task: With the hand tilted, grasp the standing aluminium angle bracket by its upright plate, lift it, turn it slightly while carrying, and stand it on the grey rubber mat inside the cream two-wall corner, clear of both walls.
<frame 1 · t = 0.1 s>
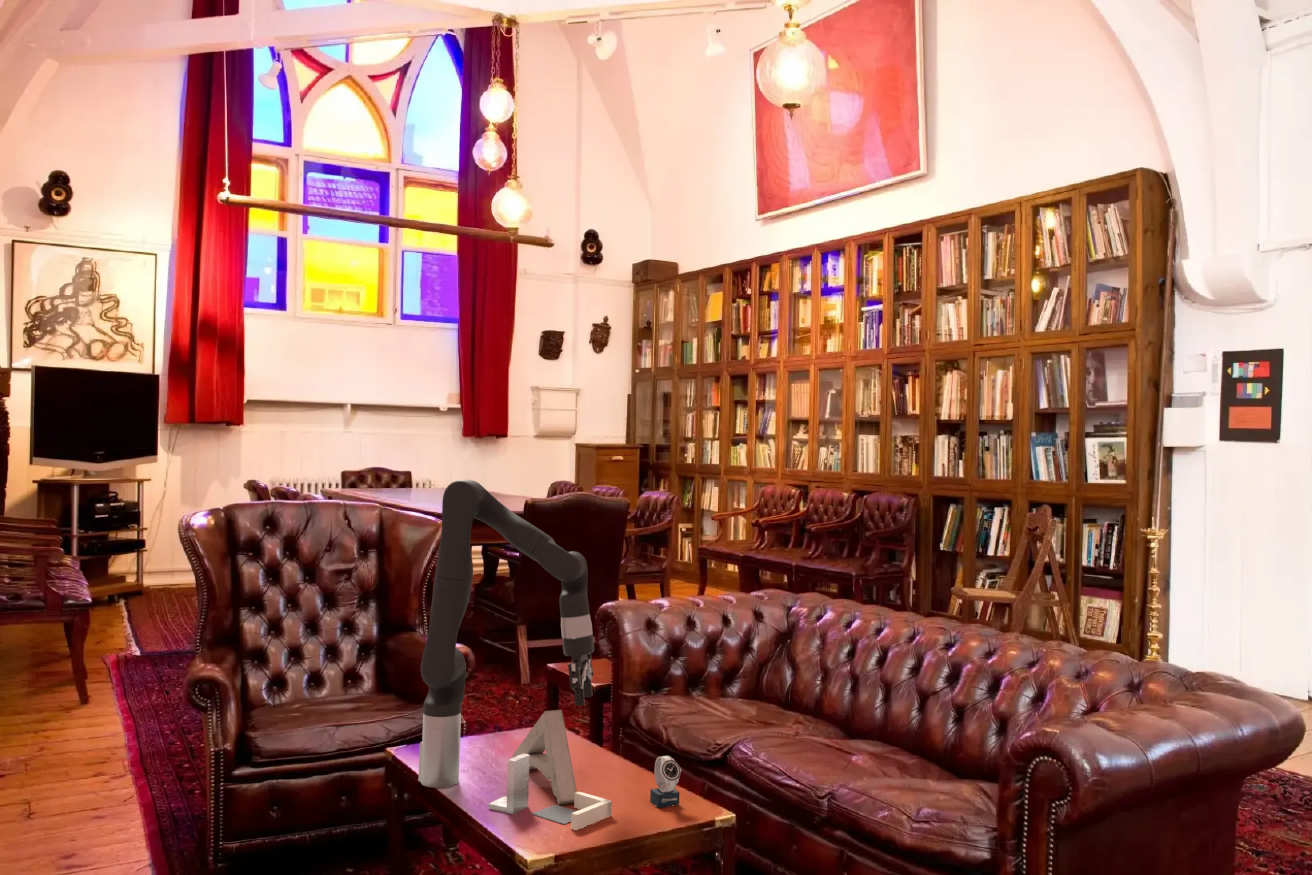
hand: (584, 700, 244), 22 cm above the table, tool pointing down, fingers open, 8 cm apart
wall bracket: (543, 783, 252), on the table
angle bracket: (517, 809, 231), on the table
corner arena: (577, 818, 227), on the table
watch: (664, 804, 238), on the table
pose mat: (559, 814, 228), on the table
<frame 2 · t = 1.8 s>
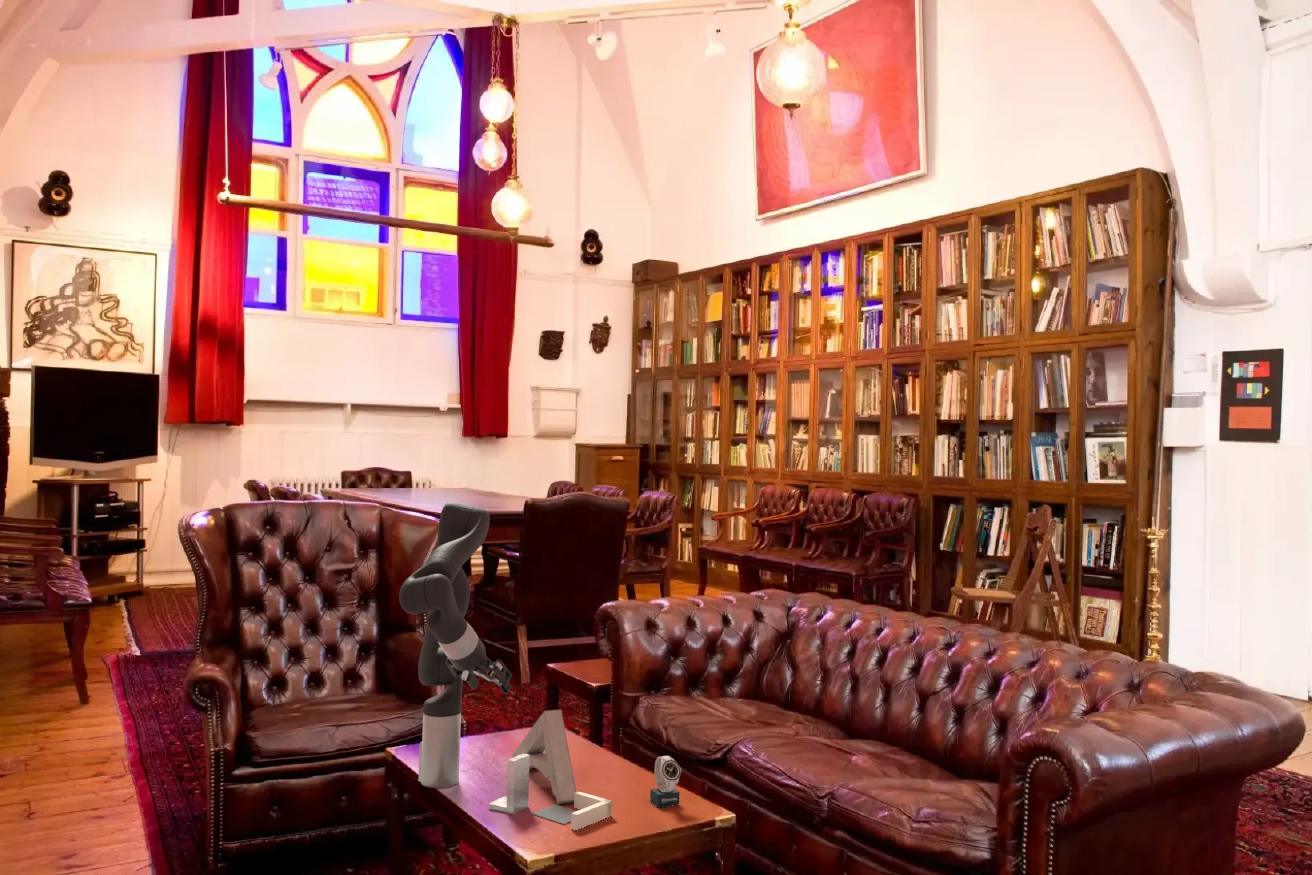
hand: (491, 688, 222), 30 cm above the table, tool tilted 45°, fingers open, 8 cm apart
nothing on the table moved.
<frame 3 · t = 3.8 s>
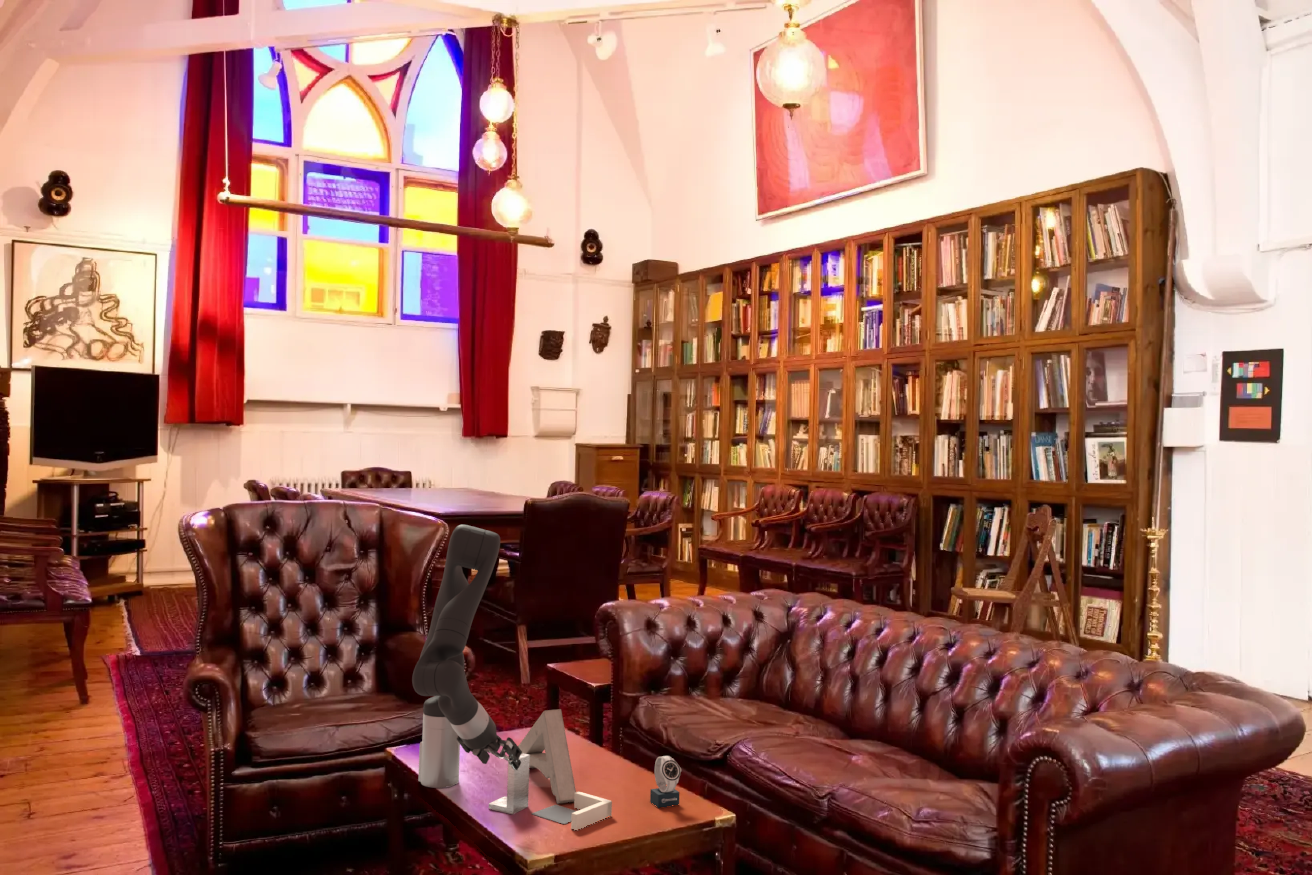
hand: (502, 763, 226), 12 cm above the table, tool tilted 45°, fingers open, 8 cm apart
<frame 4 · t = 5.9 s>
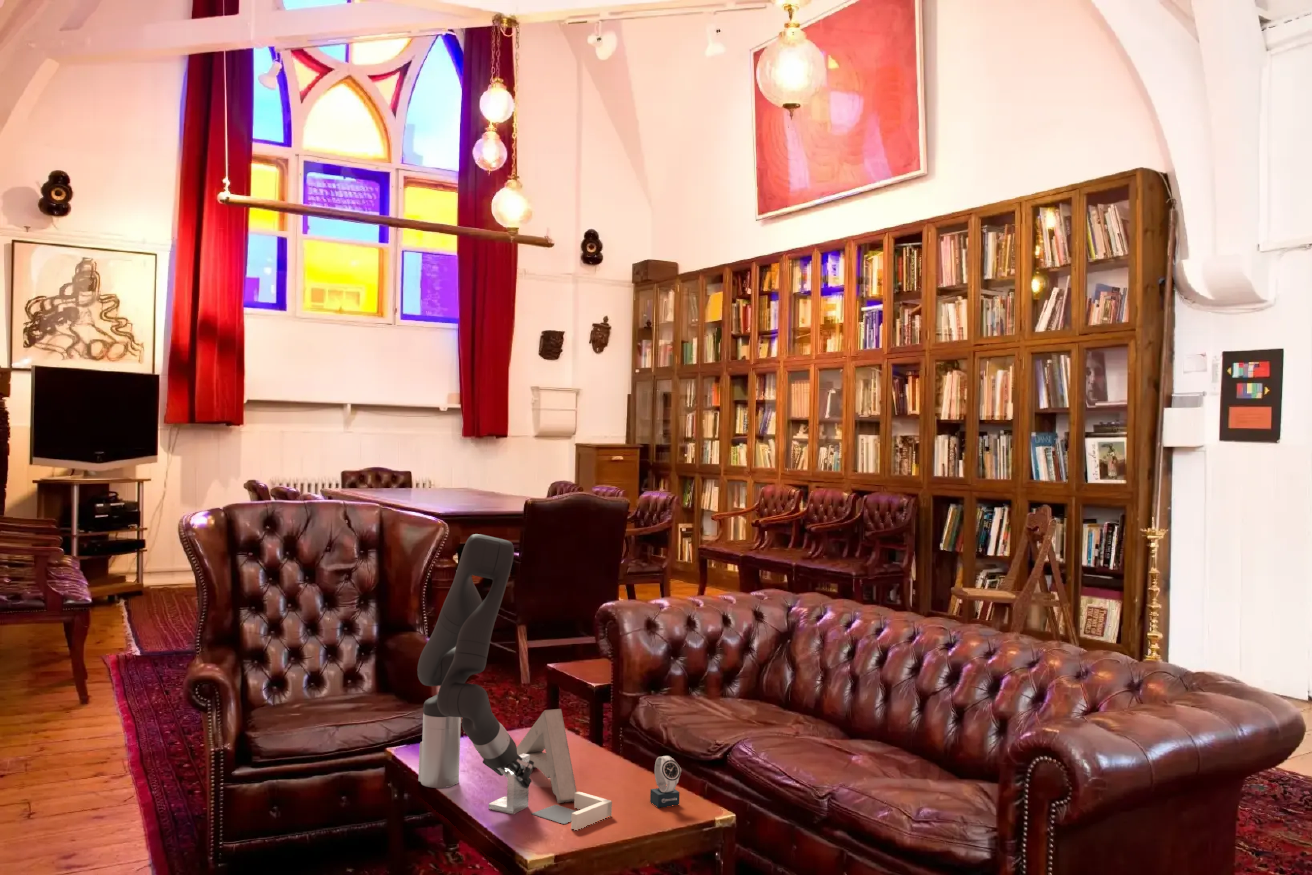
hand: (523, 783, 233), 5 cm above the table, tool tilted 45°, fingers closed on angle bracket, 2 cm apart
angle bracket: (517, 809, 231), on the table, touching gripper
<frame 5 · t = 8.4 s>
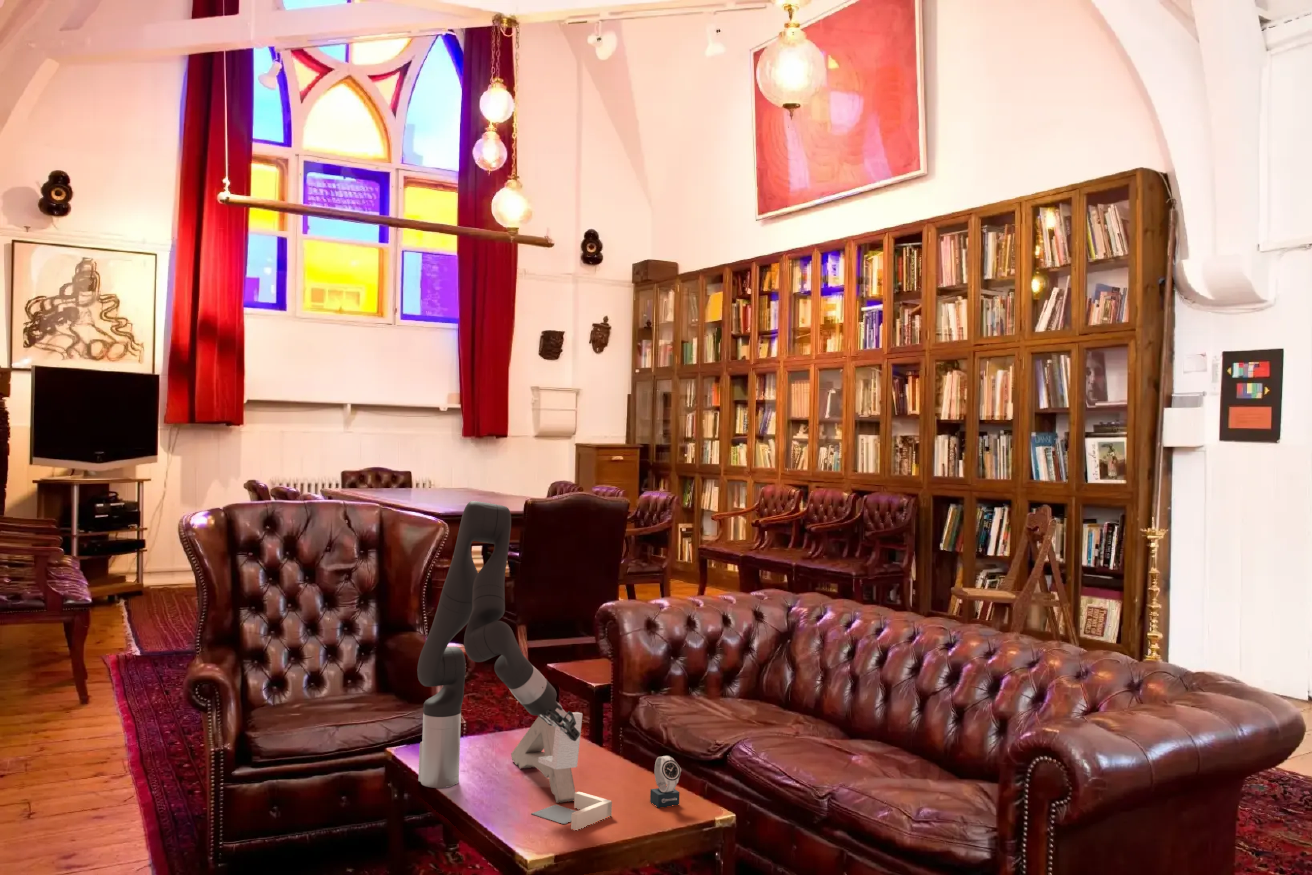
hand: (573, 736, 229), 18 cm above the table, tool tilted 45°, fingers closed on angle bracket
angle bracket: (564, 767, 228), point 11 cm above the table, tilted 5°, touching gripper
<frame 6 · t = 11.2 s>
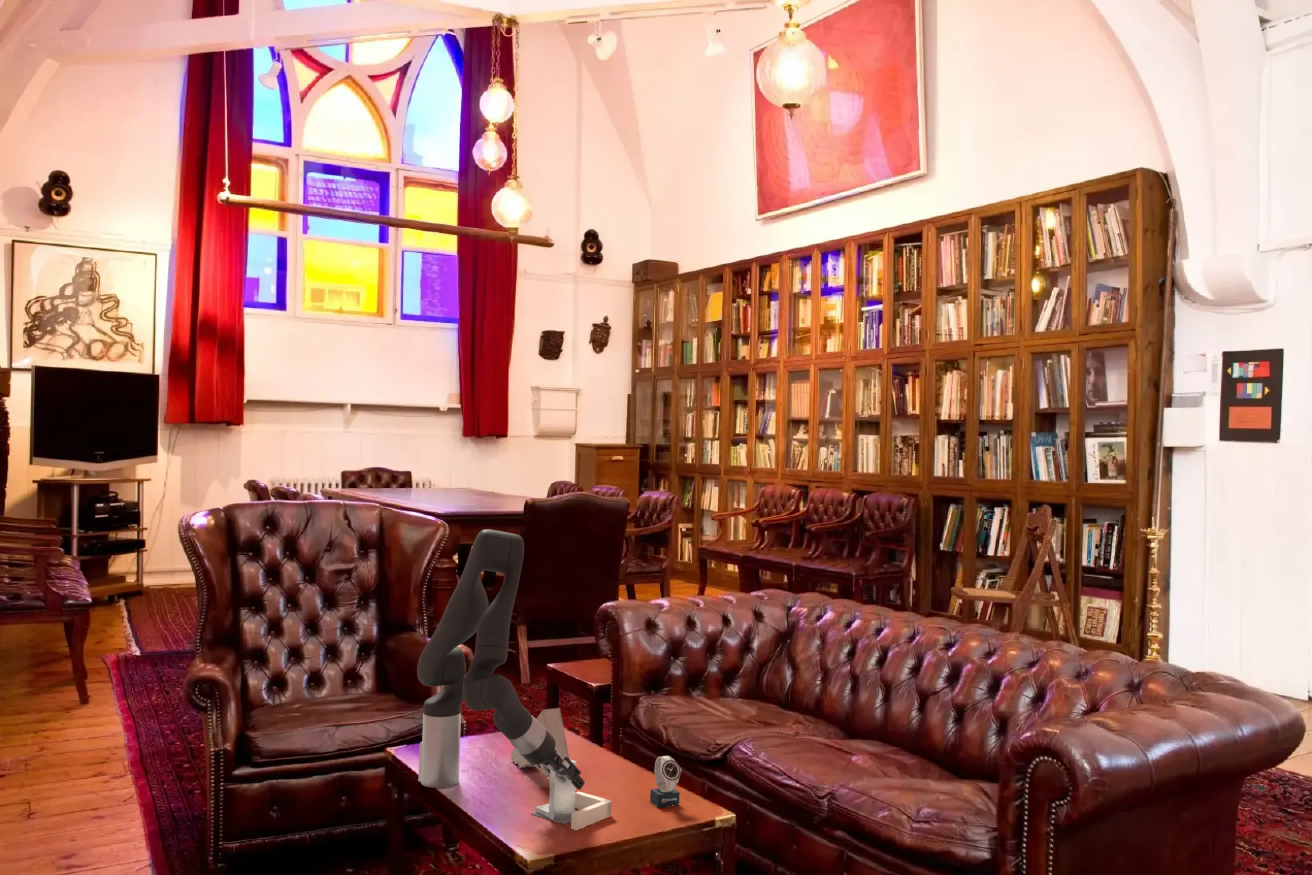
hand: (570, 781, 229), 8 cm above the table, tool tilted 45°, fingers open, 7 cm apart
angle bracket: (561, 816, 227), resting on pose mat
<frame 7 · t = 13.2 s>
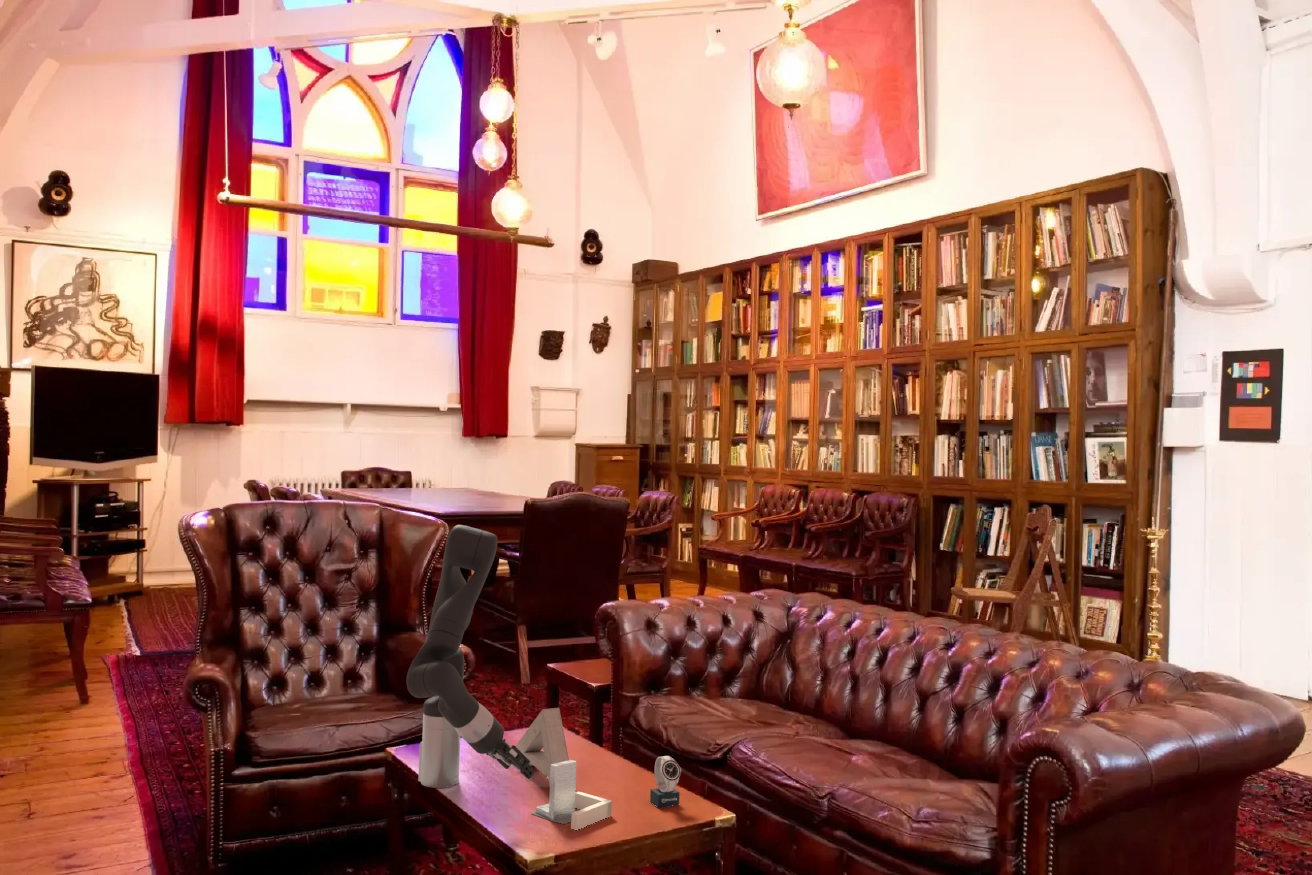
hand: (520, 770, 221), 12 cm above the table, tool tilted 45°, fingers open, 8 cm apart
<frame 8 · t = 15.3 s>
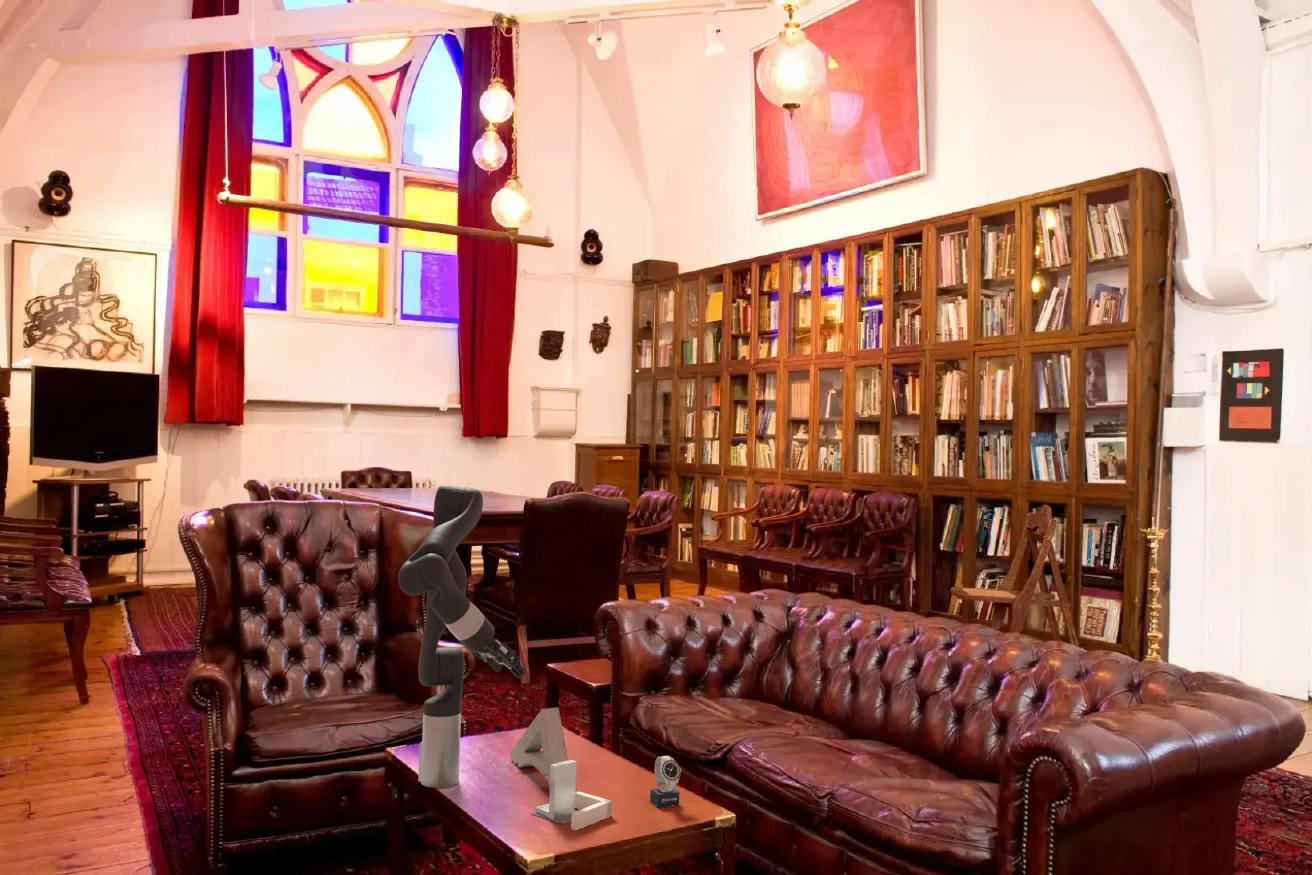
hand: (511, 672, 226), 33 cm above the table, tool tilted 45°, fingers open, 8 cm apart
at the end: angle bracket inside the target area (1.4 cm from its centre), resting on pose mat; angle bracket tilted 0°; angle bracket touching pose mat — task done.
